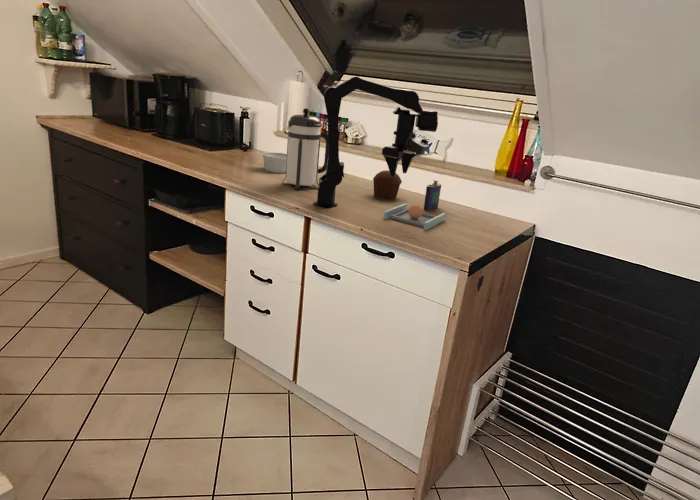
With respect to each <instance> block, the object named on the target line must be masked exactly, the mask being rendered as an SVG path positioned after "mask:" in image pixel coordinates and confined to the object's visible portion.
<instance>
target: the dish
mask: <svg viewBox="0 0 700 500" xmlns="http://www.w3.org/2000/svg"><path fill="white" fill-rule="evenodd" d="M408 209H409V208H406V210H403V211H401V212H398V213H396V214H393V215H391V217H390V220H393V221H396V222H397V221H398V222H402V223H405V224H409V225H412V226H415V227H420V228H424V224H425V222H426V221H428V220H430V219H432V218H434V217H436V216H437V215H433V214H428V213H424V212H423V214H422V216H421V217H420V218H418V219H413V218H411V217H410V216H409V214H408Z"/></svg>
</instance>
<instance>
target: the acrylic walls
mask: <svg viewBox="0 0 700 500" xmlns="http://www.w3.org/2000/svg"><path fill="white" fill-rule="evenodd" d="M407 206H408V203H402V204H401V205H397V206H395V207H392V208H390V209H387V210H385V211H383V217H382V218H383V219H384V220H387V219H389V218H390V219H391V215H393V214H396V213H398V212H401V211H403V210H406V209H408V208H407ZM446 215H447V214H446V213H445V212H443V213H441V214H439V215H435V216H436V217H434V218H432V219H430V220H428V221H426V222H425V224H424V227H423V231H427V230H429V229H431V228H433V227H434V226H437V225H439V224H440V223H442V222H444V221H445V219H446Z"/></svg>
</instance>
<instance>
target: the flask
mask: <svg viewBox="0 0 700 500" xmlns="http://www.w3.org/2000/svg"><path fill="white" fill-rule="evenodd" d="M425 190H426V191H425V197H424V203H423V211H434V210H435V209H437V208H438V207H439V202H440V196H441V195H440V194H441V190H442V184H441V183H439V181H438V180H435V179H433V182H432V183H431V184H427V185H426V188H425Z"/></svg>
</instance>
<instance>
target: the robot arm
mask: <svg viewBox="0 0 700 500" xmlns="http://www.w3.org/2000/svg"><path fill="white" fill-rule="evenodd" d="M357 90H358V91H361V92H365V93H368V94H371V95H374V96H378V97H381V98H384V99H386V100H390V101H392V102H394V103H396V104H398V105H399V106H402V107H403V108H404V109H401V107H399V106H397V107H396V108H395V109H394V110H393V111H392V114H393V115H397V122H396V123H397V124H396V129H395V130H394V131H393V135H395V137H394V138H395V139H394V143H391V145H387V146H384V147H382V150H381V155H382V156H383V158H384V160H385V162H386V164H387V168H388V171H390V174H391V176H392V177H394V176H395V173H396V174H397V170H398V169H397V168H398V164H399V162H400V161H401V167H402V169H401V171H402V173H403V174H407V173H408V170H409V168H410V166H411V164H412V162H413V159H414V158H416V157H418V156H422V155H425V153H426V151H427V150H429V140H428V139H426V138H423V139H417V138H416V137H417V134H416V133H415V132H414V131H415V127H416V128H417V130H418V131H421V132H422V131H423V132H429V133H430V132H432V133H436V132H437V129H438V124H439V122H438V119H439V117H438V113H439V112H438V111H437V110H423V107H422V106H421V104H420V97H419V94H418V93H417V92H416V91H414V90H411V89H405V88H394V87H390V86H387V85H383V84H380V83H376V82H373V81H370V80H366V79H364V78H360V77H359V76H356V75H355V76H354V75H353V76H352V77H350V78H349V79H347V80H346V81H343V82H342V83H340V84H338V85H337V86H328V87H327V88H326V89H325V91H324V93H323V99H324V103H325V104H324V106H325V109H326V110H325V111H326V117H327V135H328V161H327V167H326V171H325V173H324V174H323V175H322V176H321V177H319V179H318V184H319V186H318V187H317V188H318V189H317V196H316V197H317V198H316V201H313V202H312V204H313V205H316V206H319V207H322V208H326V209H329V208H332V207H336V206H338V203H336V202H335V200H336V189H337V186H339V185H340V184H341V183H342V181H343V178H345V173H344V172H345V171H344V169H345V163H344V161H340V154H339V153H340V152H339V151H340V148H339V147H340V146H339V145H340V144H339V142H340V141H339V140H340V139H339V134H340V133H339V132H340V131H339V115H340V111H341V104H342V99H343V98H344V97H346V96H348V95H349V94H351V93H353V92H354V91H357ZM405 108H406V109H405ZM410 110H411V111H413V112H414V113H411V111H410Z"/></svg>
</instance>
